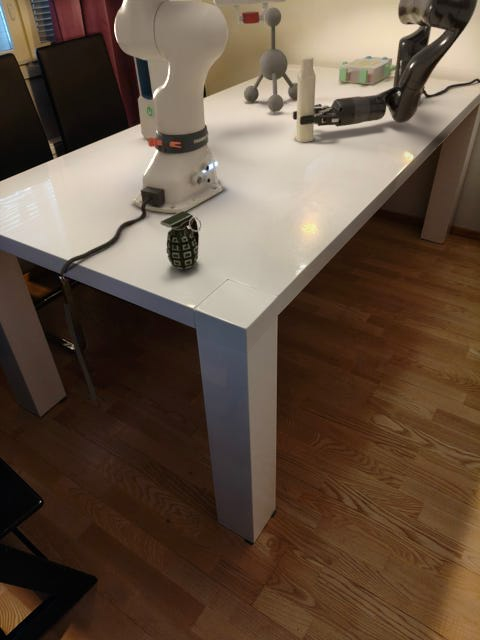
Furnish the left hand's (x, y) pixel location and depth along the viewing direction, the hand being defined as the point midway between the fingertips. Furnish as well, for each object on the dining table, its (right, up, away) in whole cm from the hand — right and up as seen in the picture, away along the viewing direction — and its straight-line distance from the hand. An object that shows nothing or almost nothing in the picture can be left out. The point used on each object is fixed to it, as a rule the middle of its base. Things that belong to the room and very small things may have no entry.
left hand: (251, 23), depth 136 cm
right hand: (+13, -25, +5) cm, 28 cm away
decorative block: (+49, +17, +66) cm, 84 cm away
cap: (0, +2, -1) cm, 2 cm away
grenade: (-13, -73, -45) cm, 87 cm away
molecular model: (+11, -4, +42) cm, 43 cm away
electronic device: (-27, -26, +16) cm, 41 cm away
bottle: (+16, -29, +9) cm, 35 cm away
